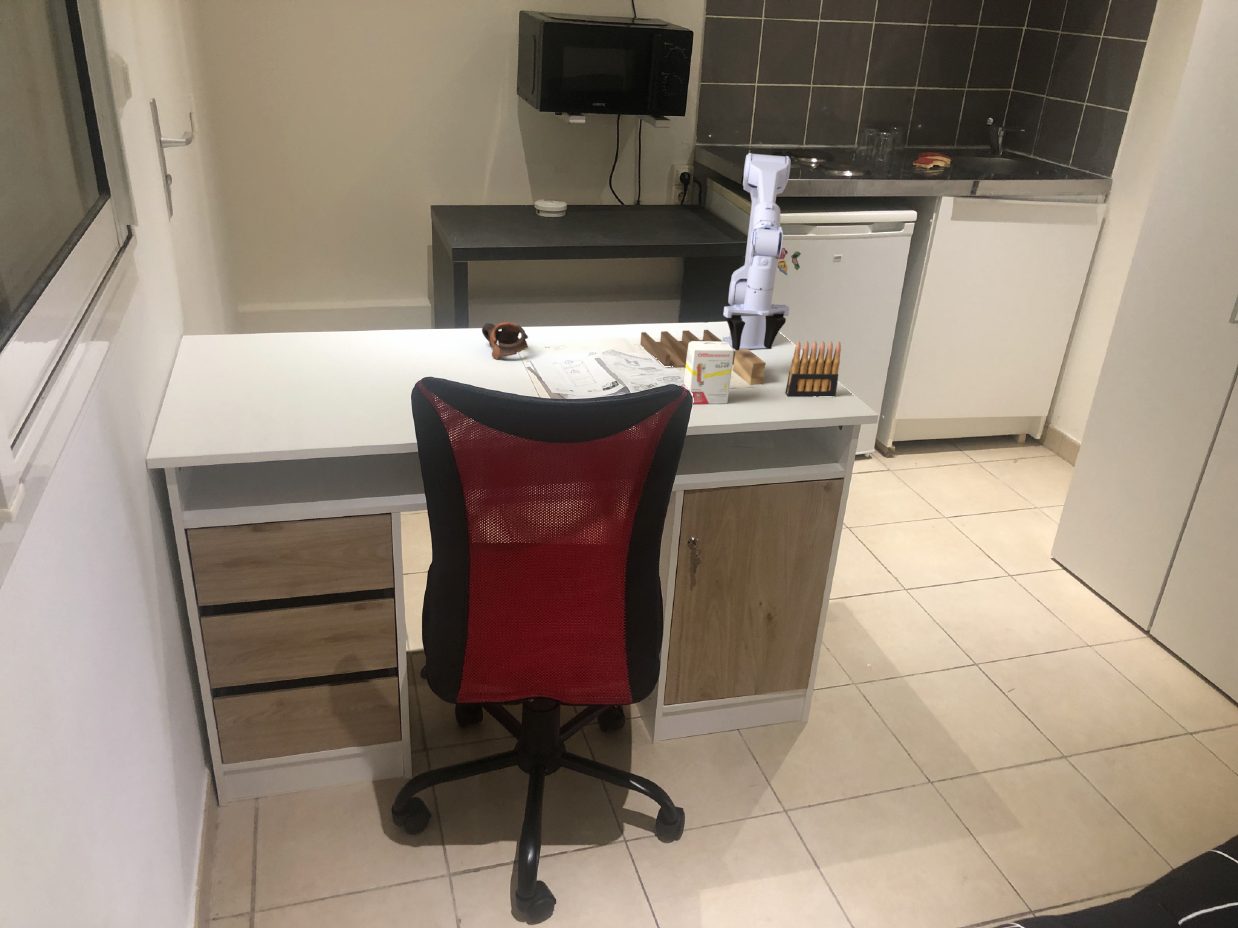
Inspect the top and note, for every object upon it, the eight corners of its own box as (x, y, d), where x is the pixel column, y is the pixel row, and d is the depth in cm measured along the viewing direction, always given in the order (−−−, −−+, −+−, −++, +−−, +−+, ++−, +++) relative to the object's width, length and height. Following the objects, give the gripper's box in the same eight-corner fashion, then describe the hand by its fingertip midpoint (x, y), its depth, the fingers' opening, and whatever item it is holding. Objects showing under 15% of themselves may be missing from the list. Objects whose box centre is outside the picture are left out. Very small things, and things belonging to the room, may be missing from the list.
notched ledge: (706, 341, 229) (707, 329, 228) (734, 364, 215) (735, 351, 214) (640, 344, 224) (641, 332, 222) (664, 368, 210) (665, 355, 209)
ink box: (687, 404, 191) (693, 349, 186) (681, 395, 196) (687, 341, 191) (728, 404, 193) (735, 349, 188) (721, 395, 198) (728, 341, 192)
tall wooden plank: (745, 370, 213) (747, 349, 211) (762, 384, 205) (765, 363, 203) (732, 371, 212) (735, 349, 210) (750, 385, 204) (753, 363, 202)
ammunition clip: (832, 393, 203) (842, 340, 198) (835, 396, 201) (845, 343, 196) (784, 393, 201) (793, 339, 196) (787, 396, 200) (796, 342, 194)
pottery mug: (536, 353, 215) (536, 328, 208) (513, 380, 210) (512, 356, 203) (492, 330, 217) (491, 305, 211) (468, 356, 213) (466, 332, 206)
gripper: (736, 292, 194) (728, 355, 200) (799, 291, 199) (789, 352, 204) (722, 283, 200) (715, 344, 206) (783, 282, 205) (774, 342, 210)
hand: (751, 348), depth 206 cm, fingers open, 7 cm apart
